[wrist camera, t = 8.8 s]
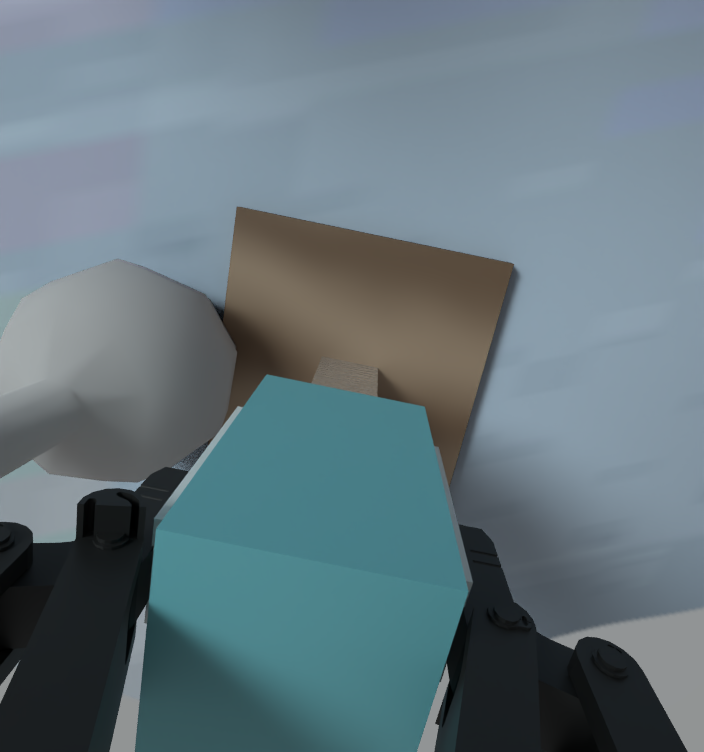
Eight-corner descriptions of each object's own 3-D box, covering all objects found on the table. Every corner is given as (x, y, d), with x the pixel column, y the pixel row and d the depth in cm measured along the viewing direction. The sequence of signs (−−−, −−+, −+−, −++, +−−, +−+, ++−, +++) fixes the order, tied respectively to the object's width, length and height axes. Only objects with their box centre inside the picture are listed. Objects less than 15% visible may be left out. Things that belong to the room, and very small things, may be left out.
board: (240, 207, 22) (236, 206, 22) (510, 263, 22) (514, 264, 22) (205, 486, 27) (202, 492, 26) (433, 532, 27) (434, 539, 26)
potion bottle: (102, 227, 23) (-862, 236, 6) (283, 309, 23) (-166, 566, 6) (61, 395, 26) (-674, 734, 9) (222, 469, 26) (-203, 966, 8)
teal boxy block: (266, 374, 17) (155, 529, 8) (424, 406, 17) (468, 591, 8) (245, 512, 18) (134, 756, 10) (389, 541, 18) (398, 808, 10)
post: (322, 356, 24) (289, 438, 15) (377, 367, 24) (376, 455, 15) (312, 408, 24) (276, 514, 16) (366, 419, 24) (359, 530, 16)
